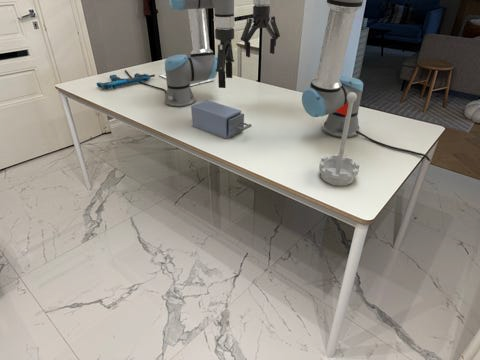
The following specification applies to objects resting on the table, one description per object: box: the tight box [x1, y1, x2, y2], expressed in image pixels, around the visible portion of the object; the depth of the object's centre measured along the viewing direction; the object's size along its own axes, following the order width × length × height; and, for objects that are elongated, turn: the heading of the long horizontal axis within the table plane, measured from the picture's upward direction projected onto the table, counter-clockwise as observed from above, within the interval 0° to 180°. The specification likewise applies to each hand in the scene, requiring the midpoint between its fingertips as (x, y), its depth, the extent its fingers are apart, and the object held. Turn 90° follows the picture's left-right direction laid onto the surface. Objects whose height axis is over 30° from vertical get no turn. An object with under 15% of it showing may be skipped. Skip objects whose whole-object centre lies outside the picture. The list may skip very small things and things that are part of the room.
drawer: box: [227, 113, 253, 138], centre depth 147 cm, size 25×9×8 cm, turn 50°
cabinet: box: [190, 99, 242, 139], centre depth 150 cm, size 20×10×10 cm, turn 50°
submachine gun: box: [95, 72, 156, 91], centre depth 209 cm, size 34×4×25 cm
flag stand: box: [318, 92, 360, 187], centre depth 110 cm, size 13×13×30 cm
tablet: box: [158, 73, 214, 87], centre depth 216 cm, size 32×20×1 cm, turn 41°
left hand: (225, 82), depth 143 cm, fingers open, 13 cm apart
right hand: (260, 55), depth 162 cm, fingers open, 13 cm apart
